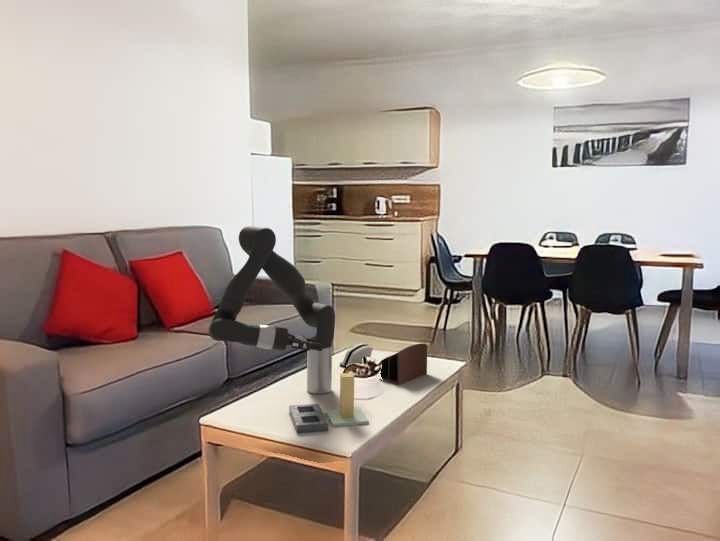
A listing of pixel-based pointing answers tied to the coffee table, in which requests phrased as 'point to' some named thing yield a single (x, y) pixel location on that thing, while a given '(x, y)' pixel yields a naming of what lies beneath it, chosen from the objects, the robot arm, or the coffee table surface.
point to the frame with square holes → (308, 418)
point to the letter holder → (405, 364)
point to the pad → (338, 421)
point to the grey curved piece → (357, 354)
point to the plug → (346, 395)
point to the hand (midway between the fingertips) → (319, 345)
